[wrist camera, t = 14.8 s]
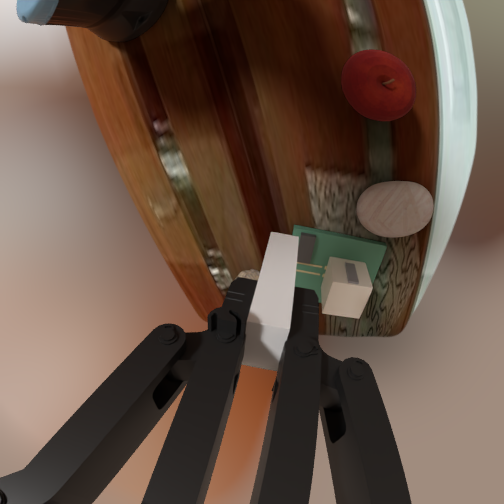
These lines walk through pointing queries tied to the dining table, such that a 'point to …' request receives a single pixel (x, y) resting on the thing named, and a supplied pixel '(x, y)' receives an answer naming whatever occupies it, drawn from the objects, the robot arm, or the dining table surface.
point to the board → (331, 254)
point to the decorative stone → (395, 208)
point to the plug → (345, 288)
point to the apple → (378, 85)
